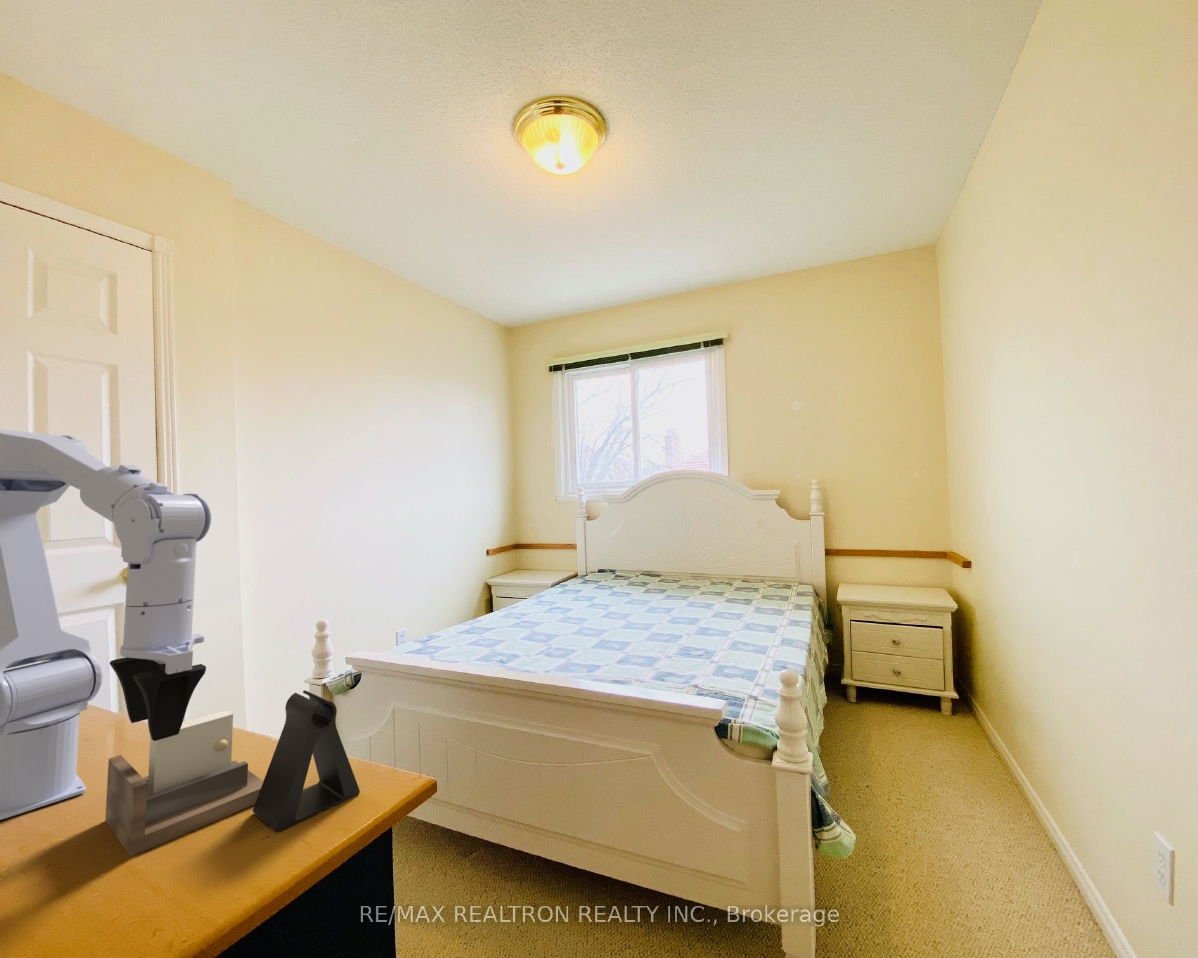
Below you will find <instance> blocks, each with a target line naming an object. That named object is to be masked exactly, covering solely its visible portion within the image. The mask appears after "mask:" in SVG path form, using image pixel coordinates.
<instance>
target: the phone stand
mask: <svg viewBox="0 0 1198 958" xmlns="http://www.w3.org/2000/svg"><path fill="white" fill-rule="evenodd" d="M302 693H303V694H304V695H307V696H308V697H306V696H303V695H301V694H300V693H297V692H294V693H292V694H291V695H290V697H289V698H287V700H286V703H285V721H284V725H283V729H282V730H281V733H280V736H279V738H278V741H277V744H276V746H275V748H274V749H275V750H274V752H273V754H272V758H271V759H270V762H269V765H268V768H267V771H266V774H265V776H264V779H263V784H262V787H261V789H260V792H259V795H258V797H257V800H256V803H255V804H254V805H253V809H252V813H253V814H255V816H257V818H259V819H260V820H261V821H263V822H264V824H266V825H267V826H268V827H269V828H270V829H272V830H273V831H274V832H275V833H277V834H279V833H282V832H284V831H286V830H288V829H291V828H292V827H294V826H295V827H296V826H297V825H299V824H301V823H303V822H305V821H307V820H310V819H312V818H314V817H316V816H318V815H319V814H320V812H321V813H325V812H326V811H328V810H331V809H332V808H335V807H337V806H340V805H341V804H343V803H346V802H347V801H350V800H351V798H352V799H354V798H356V797H358V796H359V795H360V792H361V790H360V787H359V785H358V783H357V780H356V776H355V774H354V771H353V769H352V766H351V763H350V761H349V758H348V756H347V752H346V750H345V748H344V745H343V741H342V739H341V736H340V734H339V731H338V729H337V723H336V720H337V718H336V717H337V714H338V713H337V710H338V709H337V707H336V704H335V703H334V702H333V701H330V700H328V699H326V698H324V697H321V696H319V695H317V694H314V693H313V692H311V691H308V690H305V689H304V690H303V691H302ZM312 757H313V760H314V763H315V768H316V771H317V774H318V775H317V776H318V779H319V780H318V782H317V783H315V784H312V785H310V786H308V787H306V788H304V787H305V783H306V779H307V775H308V772H309V768H310V765H311V761H312ZM357 795H358V796H357ZM355 796H356V797H355ZM353 797H354V798H353ZM349 799H350V800H349Z"/></svg>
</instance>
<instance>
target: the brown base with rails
mask: <svg viewBox="0 0 1198 958" xmlns="http://www.w3.org/2000/svg"><path fill="white" fill-rule="evenodd" d="M106 780H107V781H106V782H107V784H106V799H105V802H106V803H105V822H106V823H107V825H108V827H109V828H110V829H111V831H112V832H113V834H114V835H115V836H116V838H117V840H118V841H119V842H120V844H121V845H122V847H123V849H124V850H125V851H126V853H127V855H129V857H130V858H131V857H134V856H136V855H139V854H140V853H143V852H146V851H148V850H150V849H153V848H155V847H157V846H160V845H162V844H164V843H167V842H168V841H172V840H174V839H176V838H179V837H180V836H183V835H185V834H188V833H190V832H193V831H196V830H197V829H200V828H202V827H205V826H207V825H209V824H212V823H214V822H216V821H219V820H221V819H223V818H226V817H228V816H231V815H234V814H235V813H237V812H241V811H242V810H244V809H247V808H249V807H252V806H254V805H255V803H256V800H257V797H258V795H259V792H260V789H261V787H262V784H263V781H264V779H261V778H259V777H258V776H257V775H256V774H254V773H253V772H252V771H251V770H249V763H248V762H247V761H245V760H244V761H240V762H237V761H236V760H234V761H231V766H229V767H226V768H224V769H221V770H218V771H215V772H212V773H210V774H207V775H204V776H201V777H198V778H195V779H193V780H190V781H187V782H184V783H181V784H179V785H176V786H173V787H170V788H167V789H165V790H162V791H159V792H156V793H153V794H150V795H148V775H147V776H144V777H142V775H140V773H139V772H138V771H137V770H136V769H135V767H133V766H132V765H131V764H130V762H128V761H127V760H126V758H125V757H123V755H122V754H120V755H117V756H114V757H113V756H112V757H110V758H109V757H108V764H107V779H106ZM147 795H148V796H147Z"/></svg>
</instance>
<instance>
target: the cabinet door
mask: <svg viewBox="0 0 1198 958" xmlns="http://www.w3.org/2000/svg"><path fill="white" fill-rule="evenodd" d="M233 723H234V714H233V713H232V712H230V711H228V710H223V711H220V712H215V713H212V714H209V715H204V716H201V717H198V718H197V717H196V718H194V719H190V720H187V721H183V723H182V726H181V728H180V731H179V733H178V734H177V735H174V736H171V737H167V738H164V739H160V740H157V741H153V740H152V738H151V735H150V734H149V736H150V737H149V738H150V739H149V757H148V759H149V761H148V775H147V776H148V795H150V794H153V793H156V792H159V791H162V790H165V789H167V788H170V787H173V786H176V785H179V784H181V783H184V782H187V781H190V780H193V779H195V778H198V777H201V776H204V775H207V774H210V773H212V772H215V771H218V770H221V769H224V768H226V767H229V766H231V762H232V751H233ZM148 795H147V796H148Z"/></svg>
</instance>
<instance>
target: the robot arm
mask: <svg viewBox="0 0 1198 958" xmlns="http://www.w3.org/2000/svg"><path fill="white" fill-rule="evenodd" d="M141 473H142V469H141V468H140V467H138V466H136V465H130V464H120V465H112V466H108V465H107V464H105V463H104V462H102V461H101V460H99V459H98V458H96V457H95V456H93V455H92V454H91V453H90V452H88V449H87V443H86V442H85V441H84V440H83V441H82V440H79V439H78V438H77V437H75V436H72V435H56V434H46V433H36V432H29V431H28V432H27V431H18V430H12V429H11V430H10V429H2V428H1V429H0V821H2V820H4V819H8V818H11V817H14V816H17V815H20V814H23V813H26V812H29V811H32V810H35V809H38V808H41V807H44V806H47V805H50V804H53V803H57V802H60V801H63V800H65V799H69V798H71V797H75V796H78V795H81V794H83V793H85V792H86V791H87V787H86V786H85V784H84V783H83V781H82V779H81V778H80V777H79V775H78V774H77V767H78V766H77V765H78V764H77V763H78V747H79V730H80V729H79V728H80V715H81V714H80V713H81V712H83V711H86V710H88V703H89V702H90V701H92V700H93V699H95V697H96V696H97V695H98V693H99V691H100V688H101V686H102V684H103V679H104V673H103V668H102V666H101V663H100V662H99V660H98V659H97V658H96V656H95V655H94V653H93V651H92V648H91V646H90V640H89V639H87V638H84V637H82V636H79V635H77V634H74V633H71V632H69V631H66V630H63V629H62V626H61V623H60V617H59V611H58V608H57V604H56V598H55V594H54V593H55V592H54V588H53V583H52V578H51V574H50V569H49V565H48V560H47V555H46V551H45V546H44V542H43V535H42V531H41V526H40V523H39V517H38V511H39V510H40V508H43V507H45V506H48V505H51V504H54V503H57V502H58V500H60V498H61V497H62V496H63V495H64V493H65V492H66V491H67V490H68V489H69V487H70V486H71V487H73V488H75V489H76V490H79V496H80V500H81V502H82V503H83V504H84V506H86V507H87V508H89V509H90V510H92V511H94V512H95V513H96V514H98V515H100V516H101V517H103V518H105V519H106V520H108V521H109V522H112V524H114V530H115V534H116V536H117V538H118V541H119V542H120V545H121V546H120V547H121V551H120V552H121V554H120V555H121V556H120V557H121V558H122V561H123V563H127V571H126V572H127V573H126V590H125V606H124V623H123V626H124V627H123V638H122V639H123V640H122V641H123V643H122V645H121V646H120V648H119V655H120V656H121V657H120V658H116V659H113V660H110V661H109V665H110V667H111V668H112V670H113V671H114V673H115V675H117V678H118V680H119V682H120V686H121V688H122V692H123V696H124V700H125V707H126V710H127V712H126V713H127V716H128V719H129V720H130V723H132V724H135V723H139V722H142V721H147V724H148V725H147V726H148V731H149V736H150V735H151V738H152V740H153V741H157V740H160V739H164V738H167V737H171V736H174V735H177V734H178V733H179V731H180V728H181V726H182V723H183V722H184V719H185V715H186V713H187V710H188V706H189V703H190V700H191V698H192V695H193V694H194V691H195V689H196V688H197V685H198V684H199V682H200V681H201V679H202V678H203V676H204V675H206V670H207V666H206V665H204V664H202V663H200V664H195V665H193V660H194V658H193V657H194V654H193V653H194V651H193V650H192V649H193V647H194V645H195V644H196V645H197V644H201V643H204V642H205V635H203V634H201V633H200V634H198V633H196V634H193V616H194V598H195V596H194V595H195V579H196V578H195V576H196V574H195V573H196V558H197V557H196V555H197V543H198V542H200V541H201V540H202V539H204V538H205V537H206V536H207V534H208V532H209V530H210V527H211V523H212V515H211V514H212V513H211V509H210V507H209V505H208V503H207V502H206V501H205V499H203V498H202V497H201V496H200V495H199V494H197V493H184V494H175V493H174V492H172V491H171V490H169V489H168V485H166V484H164V483H162V482H155V481H154V480H151V479H150V478H148V477H146V476H144V475H143V474H141Z"/></svg>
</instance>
